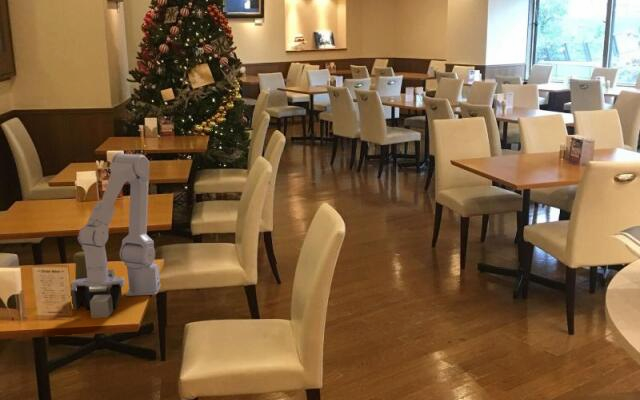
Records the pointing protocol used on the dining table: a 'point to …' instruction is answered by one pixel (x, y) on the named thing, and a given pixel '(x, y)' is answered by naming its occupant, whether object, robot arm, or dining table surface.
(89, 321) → the dining table surface
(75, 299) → the trapdoor frame
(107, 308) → the grey cube
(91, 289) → the trapdoor flap
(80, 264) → the olive green cylinder
